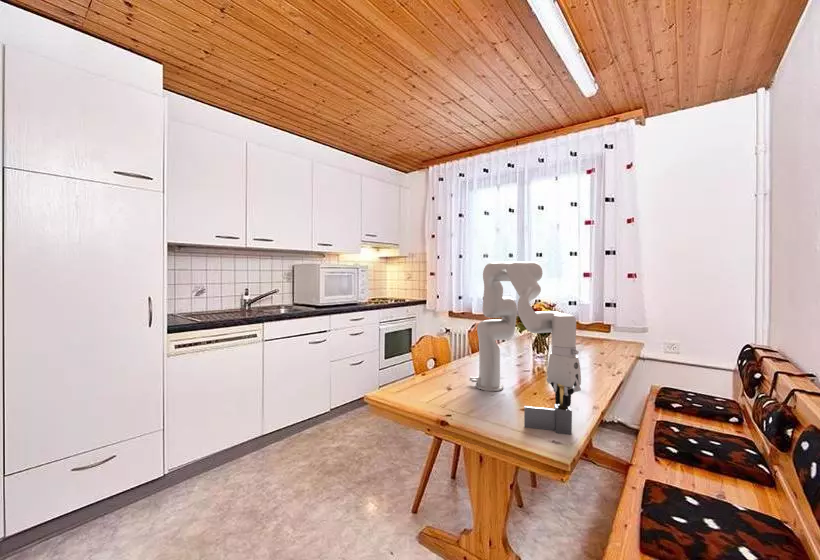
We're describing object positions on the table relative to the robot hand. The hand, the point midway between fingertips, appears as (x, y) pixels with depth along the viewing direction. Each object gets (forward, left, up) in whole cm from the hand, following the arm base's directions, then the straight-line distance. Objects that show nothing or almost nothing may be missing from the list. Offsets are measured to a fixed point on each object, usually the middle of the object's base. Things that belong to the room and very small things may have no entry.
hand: (562, 404), depth 120 cm
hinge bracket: (-5, +5, -9) cm, 11 cm away
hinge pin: (0, 0, -2) cm, 2 cm away
